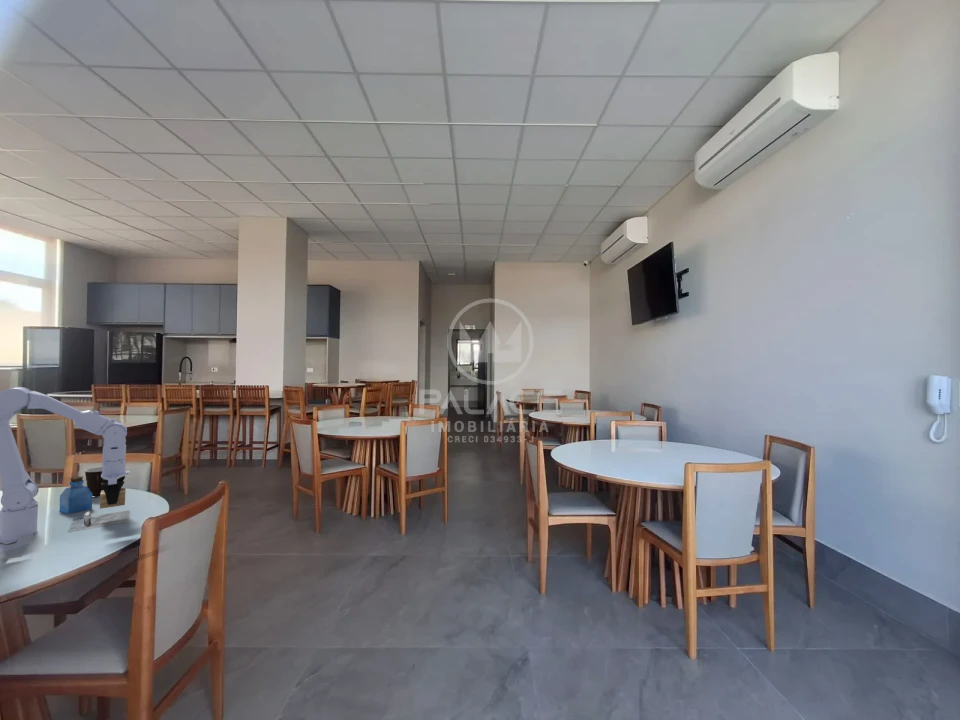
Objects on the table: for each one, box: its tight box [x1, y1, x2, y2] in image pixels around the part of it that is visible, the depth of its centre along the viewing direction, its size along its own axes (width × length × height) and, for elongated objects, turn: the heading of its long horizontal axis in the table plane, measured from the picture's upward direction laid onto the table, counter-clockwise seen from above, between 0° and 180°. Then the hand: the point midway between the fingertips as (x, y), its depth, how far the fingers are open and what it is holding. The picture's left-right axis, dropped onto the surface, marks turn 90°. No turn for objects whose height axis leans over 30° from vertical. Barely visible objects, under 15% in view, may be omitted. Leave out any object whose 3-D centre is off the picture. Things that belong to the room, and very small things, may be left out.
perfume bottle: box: [59, 475, 93, 515], centre depth 143 cm, size 6×6×12 cm
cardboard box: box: [99, 487, 127, 510], centre depth 135 cm, size 5×6×5 cm
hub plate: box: [67, 509, 131, 533], centre depth 133 cm, size 14×13×4 cm
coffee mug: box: [84, 466, 104, 496], centre depth 161 cm, size 12×9×10 cm
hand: (112, 501), depth 135 cm, fingers closed on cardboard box, 5 cm apart
